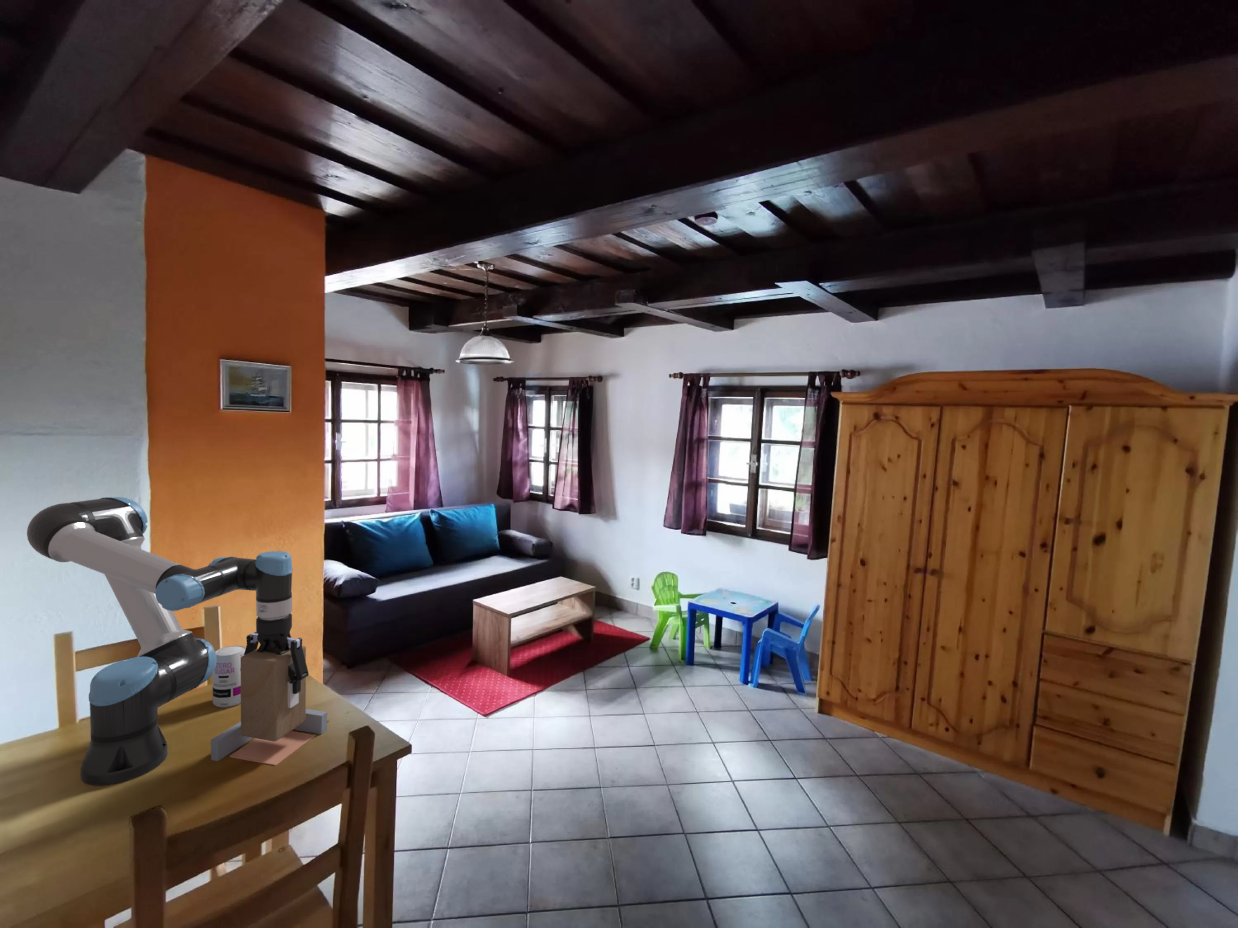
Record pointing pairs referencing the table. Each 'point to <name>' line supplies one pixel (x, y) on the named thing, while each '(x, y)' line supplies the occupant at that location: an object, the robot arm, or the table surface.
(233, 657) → the supplement can
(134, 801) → the table surface
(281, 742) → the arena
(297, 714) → the wooden block
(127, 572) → the robot arm
